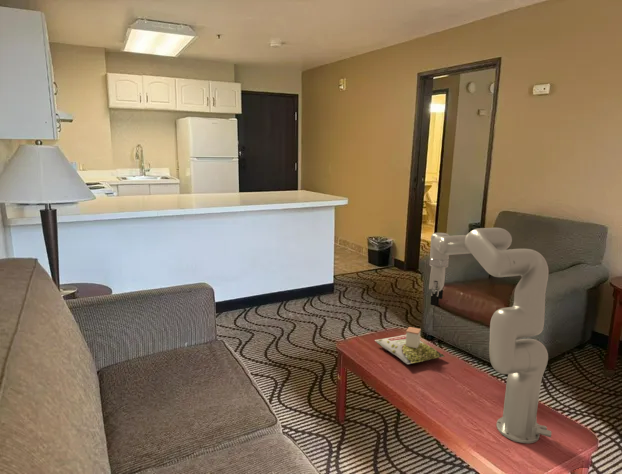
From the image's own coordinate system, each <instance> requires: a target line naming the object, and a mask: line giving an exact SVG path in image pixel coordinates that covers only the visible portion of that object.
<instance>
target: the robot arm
mask: <svg viewBox="0 0 622 474" xmlns="http://www.w3.org/2000/svg"><path fill="white" fill-rule="evenodd" d="M512 241H513V237H512V234H511V233H510V231H508V230H506V229H505V228H503V227H502V228H501V227H485V228H484V227H480V228H474V229H472V230H470V232H468V233H467V234H461V235H459V234H458V235H450V234H449V233H446V232H433V233H432V234H431V236H430V249H429V250H430V251H429V266H430V274H429V282H428V283H429V284H428V289H429V290H430V291H431V295H430V306H431V305H432V306H436V307H438V306H439V304H440V300H442V299H443V295H444V294H443V293H444V287H445V279H446V278H445V277H446V268H448V267H449V259H450V257H449V256H453V255H469V254H471V255H472V256H473V258H474V259H475V260H476V261H477V262H478V263H479V264H480V266H481V267H482V268H483V269H484V270H485V272H486V273H487V274H489V275H491V276H492V277H494V278H504V277H505V278H506V277H507V278H508V277H518V276H520V280H519V281H518V283H517V284H516V286H515V288H514V295H513V296H514V297H513V305H512V306H509V307H501V308H499V309H497V310H495V311H494V312H493V314H492V316H491V319H490V322H489V323H490V324H489V344H488V345H489V347H488V350H489V351H488V353H489V354H488V355H489V361H490V364H491V366H492V368H493V369H494V371H496V372H497V373H499V374H501V375H507V378H506V385H505V394H504V402H503V403H504V404H503V411H502V416H501V417H500V418H498V419H497V421H496V428H497V430H498V432H499V433H500V434H501V435H502V436H504V437H505V438H507V439H509V440H510V441H512V442H515V443H521V444H533V443H536V442H537V441H539V439H540V437H541V436H544V437H548V438H552V430H549V429H547V428H548V427H547V426H546V425H543V424H539V423H538V422H537V420H538V419H537V413H538V406H539V401H540V400H539V399H540V394H541V393H540V392H541V385H542V381H543V378H544V377H543V376H544V373H545V371H546V368H547V365H548V361H549V353H548V350H547V347H546V346H545V344H543V343H542V342H541V341H539V340H537V339H533V338H531V337H535V336H538V335H540V334H541V333H542V332H543V331H544V326H545V314H546V313H545V311H546V290H547V286H548V281H549V273H550V272H549V266H548V263H547V260H546V258H545V257H544V256H543V255H542V253H540V252H539V251H536V250H535V249H531V248H513V249H512V248H510V246H511V245H512V243H513V242H512ZM508 248H510V249H508Z"/></svg>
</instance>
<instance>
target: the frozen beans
mask: <svg viewBox="0 0 622 474" xmlns="http://www.w3.org/2000/svg"><path fill="white" fill-rule="evenodd" d="M374 341H375V343H376V344H377V345H379V346H380V347H382V348H383V349H385V350H386V351H388V352H389V353H391V354H392V355H394V356H396V357H397V358H399V359H400V361H402V362H403V363H405V364H406V365H411V364H417V363H420V362H422V363H423V362H425V361H430V360H435V359H438V358H443V357H445V355H444V354H443V353H441V352H439V351H438V350H437V349H435V348H433V346H430V345H429V344H427V343H425V342H424V341H422V340H421V339H420V344H419V346H418V348H413V347H408V346H406V334H401V335H396V336H391V337H385V338H380V339H374Z"/></svg>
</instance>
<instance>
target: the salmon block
mask: <svg viewBox="0 0 622 474" xmlns="http://www.w3.org/2000/svg"><path fill="white" fill-rule="evenodd" d="M405 331H406V333H405V335H406V346H408V347H413V348H418V346H419V344H420V340H421V331H422V329H421V328H417V327H414V326H413V327H412V326H409V327H407V329H406V330H405Z"/></svg>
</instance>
